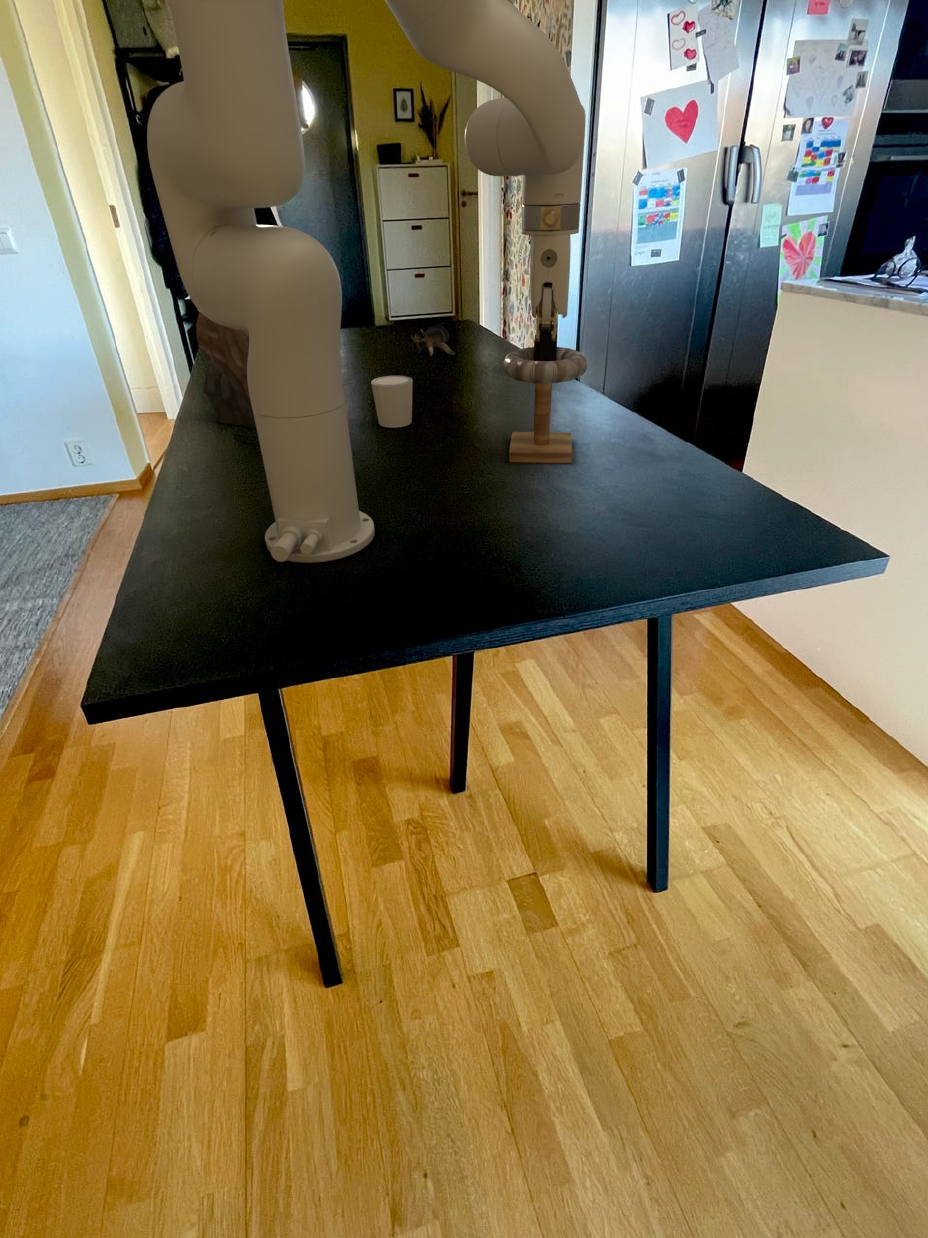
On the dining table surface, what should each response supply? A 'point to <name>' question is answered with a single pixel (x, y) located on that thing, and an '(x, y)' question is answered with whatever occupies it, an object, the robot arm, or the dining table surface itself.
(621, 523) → the dining table surface
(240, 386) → the owl
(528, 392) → the dining table surface
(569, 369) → the striped ring
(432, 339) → the grey toy animal
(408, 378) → the white cup
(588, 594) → the dining table surface
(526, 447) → the stand
